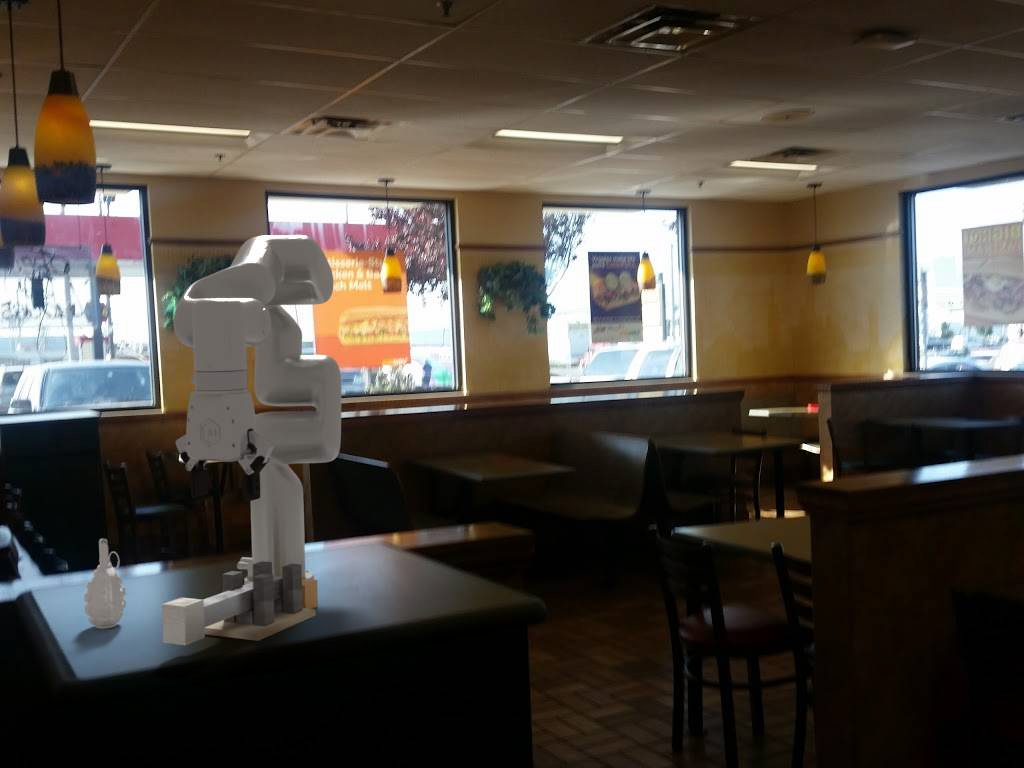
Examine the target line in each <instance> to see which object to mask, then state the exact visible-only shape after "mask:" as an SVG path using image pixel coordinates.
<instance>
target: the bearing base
mask: <svg viewBox="0 0 1024 768" xmlns="http://www.w3.org/2000/svg"><path fill="white" fill-rule="evenodd" d="M282 578H283V597H281V598H278V599H276V600H274V588H273V575H272V562H265V561H261V562H258V563H255V564H253V599H254V608H253V609H250V610H248V611H245V612H243V613H240V614H238V615H235V616H233V617H230V618H228V619H225V620H222V621H220V622H217V623H215V624H212V625H210V626H207V627H205V628H204V632H205V635H207V636H218V637H223V638H224V637H225V638H233V639H240V640H241V639H242V640H248V641H249V640H250V641H257V642H258V641H261V640H263V639H265V638H268V637H270V636H272V635H275V634H277V633H279V632H282V631H283V630H285V629H289V628H291V627H293V626H295V625H297V624H299V623H301V622H304V621H306V620H308V619H311V618H313V617H315V616H316V615H317V612H316V610H317V609H314V608H313V609H308V608H303V606H302V570H301V565H300V564H289V565H286V566H283V567H282ZM243 585H244V573H243V571H235V570H234V571H233V570H231V571H228V572H225V573H222V593H223V592H226V591H229V590H232V589H234V588H237V587H240V586H243Z"/></svg>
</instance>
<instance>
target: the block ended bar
mask: <svg viewBox="0 0 1024 768" xmlns="http://www.w3.org/2000/svg"><path fill="white" fill-rule="evenodd" d="M273 588H274V600H276V599H278V598H281V597H283V578H282V576H273ZM253 608H254V599H253V582H251V583H248V584H246V585H245V584H243V586H240V587H237V588H234V589H232V590H229V591H226V592H223V591H222V592H221V593H218V594H215V595H211V596H210V597H206V598H204V599H200V598H199V599H198V598H190V597H179V598H178V597H177V598H176V599H173V600H170V601H167V602H165V603H162V604H161V612H162V613H161V614H162V616H161V617H162V618H161V619H162V642H163V643H164V644H170V645H171V644H173V645H180V646H187V645H190V644H192V643H195V642H197V641H200V640H202V639H205V636H206V634H205V632H204V628H205V627H207V626H210V625H212V624H215V623H217V622H220V621H222V620H225V619H228V618H230V617H233V616H235V615H238V614H240V613H243V612H245V611H248V610H250V609H253Z"/></svg>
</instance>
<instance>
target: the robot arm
mask: <svg viewBox="0 0 1024 768" xmlns="http://www.w3.org/2000/svg"><path fill="white" fill-rule="evenodd" d="M333 292H334V275H333V271H332V268H331V265H330V263H329V261H328V259H327V257H326V255H325V253H324V251H323V249H322V247H321V246H320V244H319V243H318V242H317V241H316V240H315V239H314V238H313V237H311V236H308V235H303V234H295V235H294V234H293V235H289V234H287V235H280V234H279V235H258V236H254V237H251V238H249V239H248V240H246V241H244V243H242V245H240V248H239V250H238V251H237V253H236V255H235V257H234V259H233V260H232V263H231V264H230V265H229V267H227V268H224V269H221V270H219V271H217V272H215V273H212V274H209V275H207V276H205V277H202V278H200V279H198V280H196V281H194V282H193V283H192V284H190V285H189V286H188V287H187V288H186V289H185V291H184V292H183V294H182V295H181V297H180V299H179V301H178V303H177V305H176V307H175V311H174V313H173V314H174V315H173V331H174V334H175V336H176V338H177V340H178V341H179V342H180V344H182V345H184V346H185V347H188V348H192V349H193V351H192V353H193V371H194V372H193V373H194V374H192V375H191V377H190V382H191V384H193V385H194V392H190V396H189V401H188V405H187V413H186V414H187V415H186V431H185V432H186V434H184V435H182V436H181V437H180V438H178V439H176V440H175V446H176V449H177V450H178V453H179V454H180V455H179V457H180V459H181V461H182V462H183V463H184V465H185V469H186V471H188V472H189V481H190V483H189V484H190V497H191V498H196V499H197V498H200V497H204V496H207V495H208V494H210V493H209V492H210V491H209V471H208V468H206V467H205V466H206V465H207V462H209V461H210V462H226V463H233V462H236V461H237V462H238V463H239V465H240V467H242V469H243V470H244V472H245V473H243V474H242V475H241V478H242V479H241V481H242V484H241V485H242V500H243V501H244V502H246V503H248V502H250V523H251V524H250V525H251V529H250V530H251V557H248V556H247V557H245V556H242V557H241V558H240V559H239V562H237V564H236V567H237V569H238V570H247V575H246V576H245V577H244V578H243V585H246V584H248V583H251V582H253V564H255V563H258V562H261V561H265V562H272V575H273V576H282V567H283V566H286V565H289V564H300V565H301V570H302V579H309V580H315V574H314V572H313V571H310V570H307V569H306V555H305V554H306V551H305V549H306V548H305V545H306V544H305V540H306V539H305V512H304V511H305V510H304V509H305V508H304V507H305V506H304V504H305V503H304V488H303V485H302V484H303V483H302V482H301V479H300V478H299V477H298V476H297V474H296V473H295V472H294V470H292V468H291V466H289V465H291V464H293V465H294V464H318V463H319V464H321V463H329V462H332V461H334V460H335V459H336V458H338V455H339V454H340V449H341V442H342V441H341V439H342V437H341V436H342V374H341V369H340V366H339V364H338V361H337V360H336V359H334V358H333V357H332V356H330V355H325V354H303V352H302V351H303V350H302V349H303V332H302V329H301V327H300V325H299V324H298V323H297V321H296V320H295V319H294V318H293V317H292V316H291V314H289V312H287V311H286V309H284V307H282V306H300V305H301V306H302V305H303V306H304V305H307V306H308V305H309V306H310V305H314V306H315V305H323V304H325V303H327V302H328V301H329V300H330V299H331V296H332V295H333ZM248 347H249V348H250V347H255V353H254V354H255V356H254V357H255V358H254V382H253V383H254V392H255V397H256V399H257V401H258V402H260V404H263V405H266V406H270V407H271V406H273V407H302V406H303V407H304V406H305V407H309V406H310V407H314V408H315V409H316V410H314V411H311V410H310V411H307V410H306V411H290V410H289V411H287V410H286V411H267V412H260V413H257V414H256V412H255V410H256V409H255V406H254V401H253V397H252V393H251V391H248V390H249V389H248V361H247V360H248V358H247V357H248V355H247V348H248ZM204 467H205V468H204Z"/></svg>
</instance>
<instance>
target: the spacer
mask: <svg viewBox="0 0 1024 768" xmlns="http://www.w3.org/2000/svg"><path fill="white" fill-rule="evenodd" d="M318 591H319V589H318V580H317V579H314V580H309V579H302V606H303V608H308V609H312V608H313V609H314V607H315V608H317V607H318V606H319V597H318V596H319V595H318V593H319V592H318ZM316 606H317V607H316Z"/></svg>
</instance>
